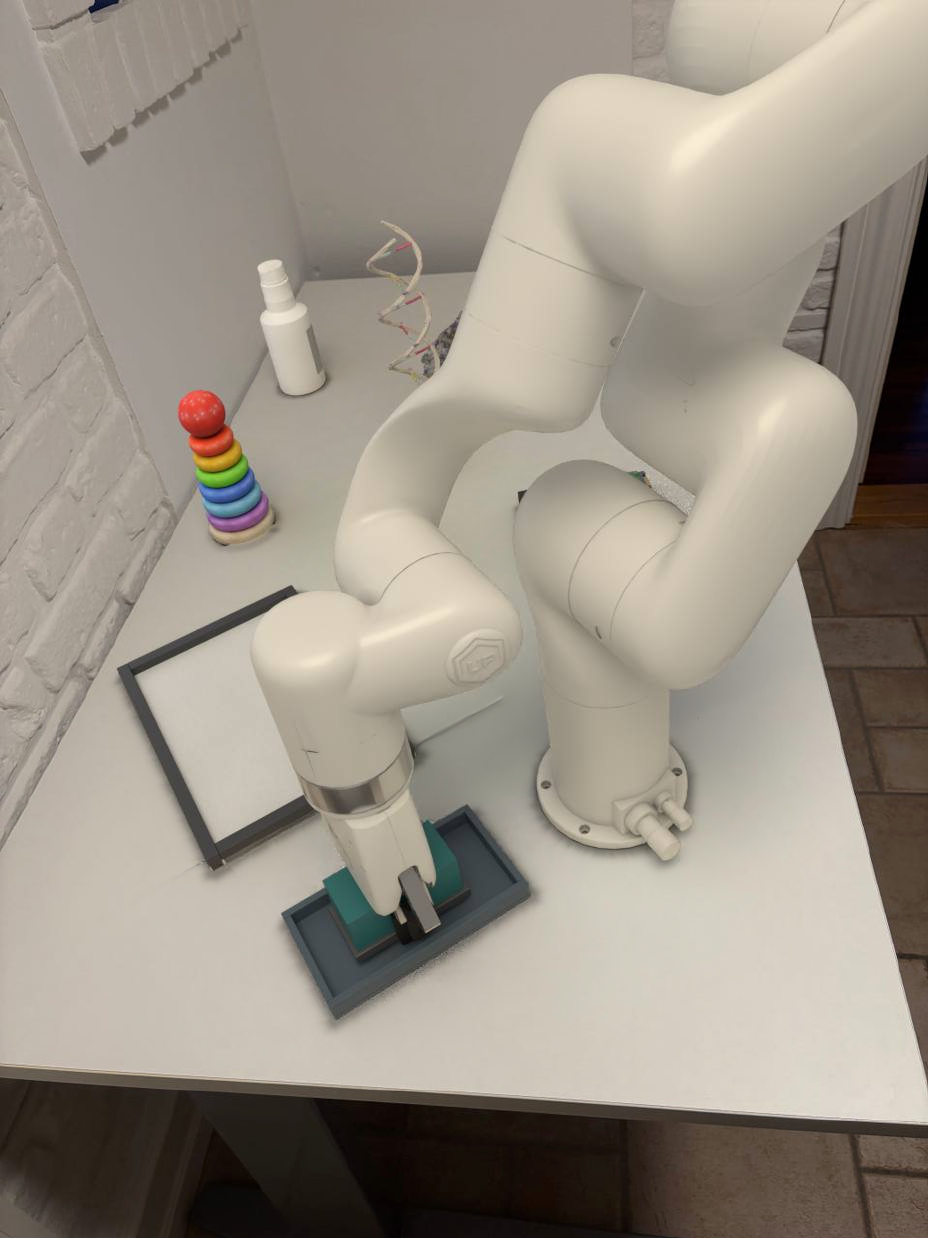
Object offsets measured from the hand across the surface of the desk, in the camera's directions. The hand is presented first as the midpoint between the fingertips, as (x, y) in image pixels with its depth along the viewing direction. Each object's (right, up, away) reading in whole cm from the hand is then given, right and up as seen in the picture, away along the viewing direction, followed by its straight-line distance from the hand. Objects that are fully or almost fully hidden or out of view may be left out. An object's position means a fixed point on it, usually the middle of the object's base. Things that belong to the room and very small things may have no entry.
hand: (401, 903), depth 74 cm
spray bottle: (-19, +56, +66) cm, 89 cm away
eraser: (0, 0, 0) cm, 0 cm away
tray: (0, -1, +1) cm, 2 cm away
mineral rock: (+6, +57, +62) cm, 84 cm away
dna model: (+1, +41, +46) cm, 61 cm away
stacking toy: (-22, +33, +42) cm, 58 cm away
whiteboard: (-15, +13, +19) cm, 27 cm away
